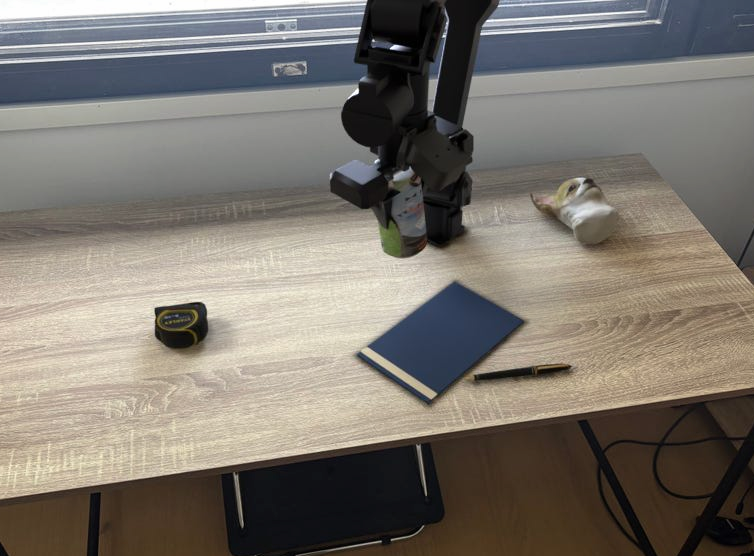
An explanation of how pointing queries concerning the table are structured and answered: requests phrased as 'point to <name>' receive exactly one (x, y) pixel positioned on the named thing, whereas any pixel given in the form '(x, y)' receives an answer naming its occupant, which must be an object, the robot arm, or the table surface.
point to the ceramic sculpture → (580, 209)
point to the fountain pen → (521, 372)
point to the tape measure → (181, 324)
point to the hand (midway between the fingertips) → (399, 218)
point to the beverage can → (405, 218)
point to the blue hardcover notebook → (440, 341)
